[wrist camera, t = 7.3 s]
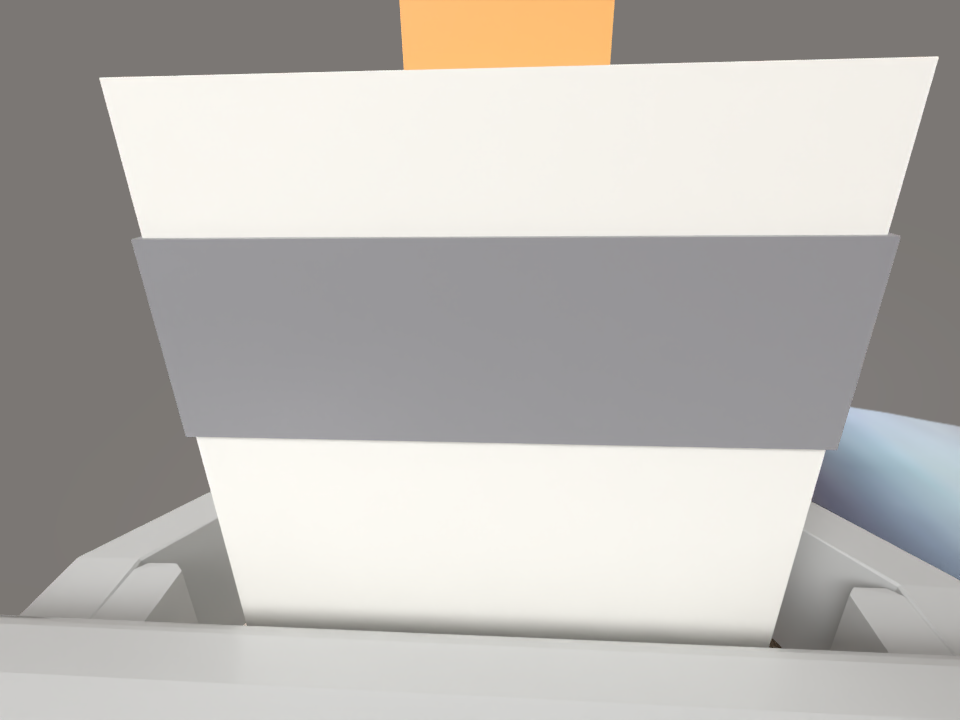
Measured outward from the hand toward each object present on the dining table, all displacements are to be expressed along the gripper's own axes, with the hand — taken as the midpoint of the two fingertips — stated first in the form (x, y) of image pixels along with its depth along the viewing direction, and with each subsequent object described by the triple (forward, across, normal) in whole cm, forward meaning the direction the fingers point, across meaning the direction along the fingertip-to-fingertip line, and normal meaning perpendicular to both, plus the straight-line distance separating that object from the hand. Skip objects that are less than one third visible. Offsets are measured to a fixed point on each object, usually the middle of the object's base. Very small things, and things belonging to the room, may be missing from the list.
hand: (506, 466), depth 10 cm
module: (-1, 0, +8) cm, 8 cm away
